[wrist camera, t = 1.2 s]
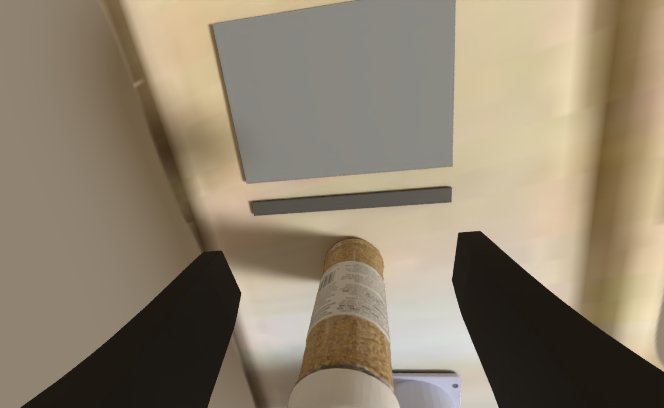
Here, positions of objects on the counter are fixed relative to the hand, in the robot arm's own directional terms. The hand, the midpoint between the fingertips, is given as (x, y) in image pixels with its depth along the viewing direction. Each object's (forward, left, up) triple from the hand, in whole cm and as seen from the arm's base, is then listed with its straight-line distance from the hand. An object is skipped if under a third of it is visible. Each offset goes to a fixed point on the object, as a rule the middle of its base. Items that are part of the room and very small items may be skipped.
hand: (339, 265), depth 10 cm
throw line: (-2, +1, -12) cm, 12 cm away
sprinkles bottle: (-7, +1, -12) cm, 14 cm away
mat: (+5, +1, -12) cm, 13 cm away
